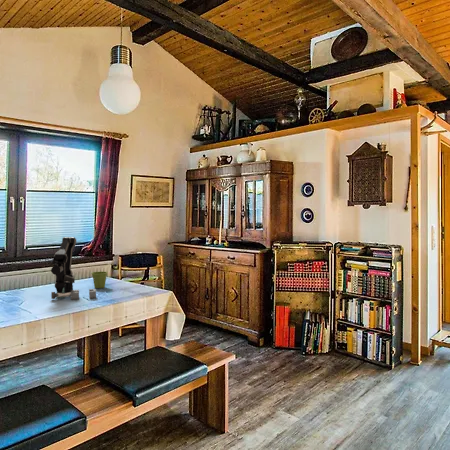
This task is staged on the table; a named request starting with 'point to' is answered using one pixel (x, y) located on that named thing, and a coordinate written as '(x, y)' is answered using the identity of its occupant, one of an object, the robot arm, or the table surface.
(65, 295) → the shaft
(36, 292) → the table surface
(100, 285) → the plant pot
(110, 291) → the table surface
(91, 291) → the cradle rig
